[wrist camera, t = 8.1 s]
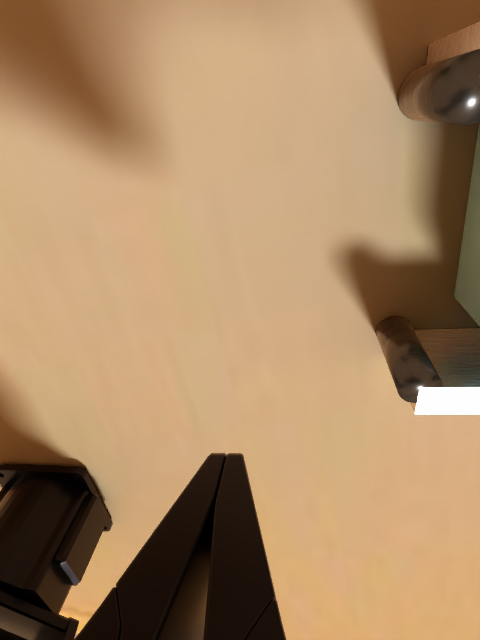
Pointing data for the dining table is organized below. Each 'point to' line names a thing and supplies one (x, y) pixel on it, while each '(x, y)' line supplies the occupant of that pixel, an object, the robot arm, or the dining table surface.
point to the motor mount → (396, 332)
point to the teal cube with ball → (471, 247)
